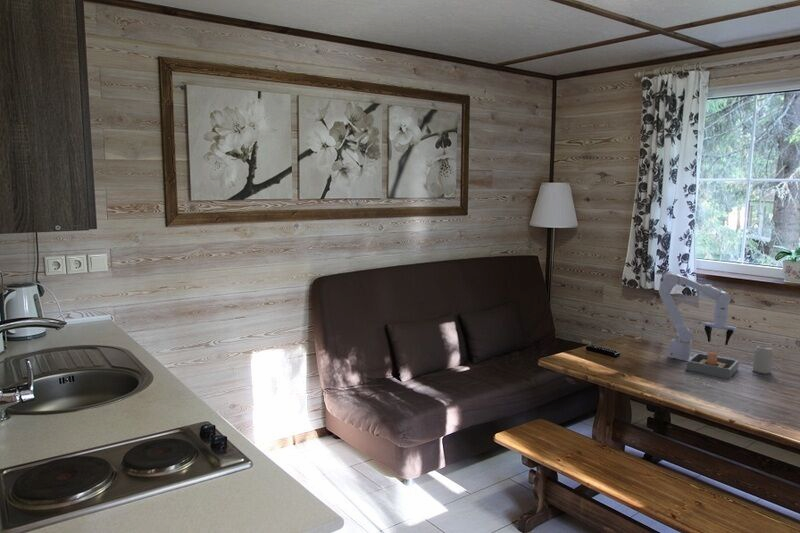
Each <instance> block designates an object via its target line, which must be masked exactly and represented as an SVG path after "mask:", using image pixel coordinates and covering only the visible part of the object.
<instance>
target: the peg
mask: <svg viewBox="0 0 800 533" xmlns="http://www.w3.org/2000/svg"><path fill="white" fill-rule="evenodd" d="M707 355H708V358H707V364H708V365H713V366H716V365H717V357H719V355H718V353H716V352H712V351H710V352H707Z"/></svg>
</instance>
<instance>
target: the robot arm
mask: <svg viewBox="0 0 800 533" xmlns="http://www.w3.org/2000/svg"><path fill="white" fill-rule="evenodd" d="M682 285H683V286H684V285H685V286H687V287H689V288H692V289H695V290H696V291H699V294H700V295H701V296H704V297H705V298H708V299H710V300H713V301H715V305H714V313H713V322H706V321H704V322H702V327H704V331H705V335H706V337H707V342H708V343H711V339H712V330H713V329H718V330H724V331H726V332H725V337H726V338H725V342H724V343H725V344H724V345H725V346H728V344H729V341H730V339H731V337H732V335H734V334H733V333H736V332H737V329H738V328H737V326H731V325H728V324H727V323H728V314H729V313H728V312H729V304H730V302H731V300H732V299H731V296H730V295H729V293H728V292H726V291H724V290H722V289H720V288H719V289H718V288H716V287H714V286H713V284H710V283H709V284H707V283H705V284H700V283H699V282H697V281H694V280H692V279H690V278H689V277H686V276H684V275H682V274H679V273H676V272H675V273H674V272H673V271H665V272H664V273H663V274H662V276H661V278H660V281H659V288H658V294H659V296H660V298H661V301H662V302H663V305H664V306H665V308H666V311H667V313H668V314H669V316H670V319H671V321H672V322H673V325H674V326H675V330H676V331H675V334H676V335H677V337H676V338H672V339H671V340H670V342H669V350H668V357H667V358H669V359H674V358H675V360H679V361H680V360H681V361H685V362H687V361H688V360H689V359H690V358H692V357H693V356H691V353H692V343H693V341H692V339H693V338H694V334H693V332H692V331H691V330H690V328H689V327H688V326H687V325H686V323H685V321H684V319H683V317H682V315H681V312H680V311H679V309H678V307H677V305H676V303H675V301H674V299H673V297H672V295H671V293H672V290H673V288H675V287H676V286H682Z"/></svg>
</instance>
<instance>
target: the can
mask: <svg viewBox="0 0 800 533" xmlns="http://www.w3.org/2000/svg"><path fill="white" fill-rule="evenodd" d="M753 353H754V355H753V363H752V364H753V365H752V370H753V371H754V372H755V373H758V374H762V375H768V374H770V373H772V368H773V360H774V351H773V348H772V347H770V346H766V345H757V346H756V348H754V352H753Z"/></svg>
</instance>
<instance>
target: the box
mask: <svg viewBox="0 0 800 533" xmlns="http://www.w3.org/2000/svg"><path fill="white" fill-rule="evenodd" d="M691 357H692V358H690V359H689V360H688V361H686V371H687V370H688V371H687V372H693V373H696V374H697V373H698V374H703V375H708V376H713V377H717V378H721V379H725V380H730V379H731V378H732V377H733V376H734V375H735V374H736V373H737V371H738V370H739V363H740V362H739V360H738V359H732V358H728V357H727V358H726V357H722V356H717V365H716V366H713V365H708V364H707V358H708V354H707V353H700V352H696V354H694V355H693V356H691Z"/></svg>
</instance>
